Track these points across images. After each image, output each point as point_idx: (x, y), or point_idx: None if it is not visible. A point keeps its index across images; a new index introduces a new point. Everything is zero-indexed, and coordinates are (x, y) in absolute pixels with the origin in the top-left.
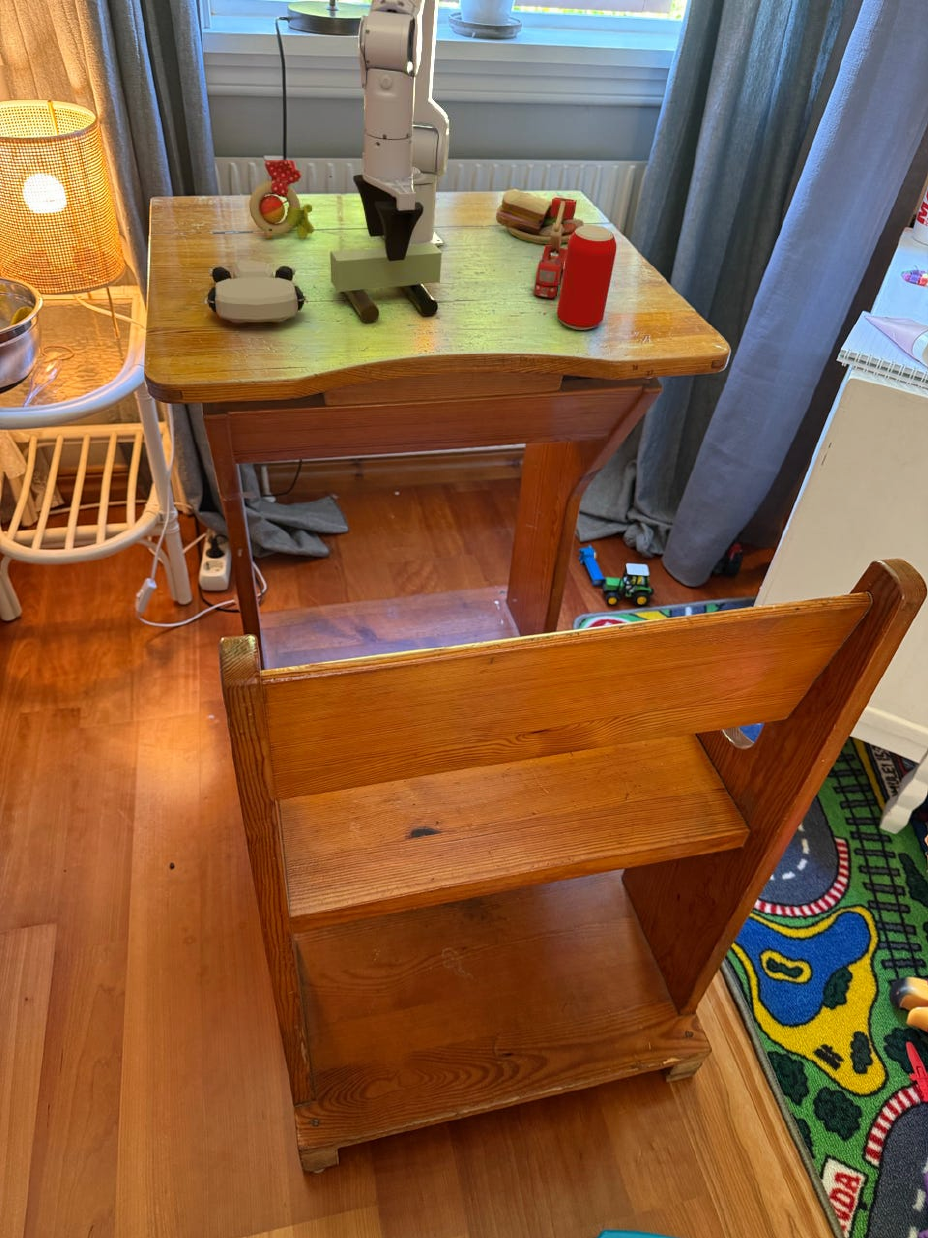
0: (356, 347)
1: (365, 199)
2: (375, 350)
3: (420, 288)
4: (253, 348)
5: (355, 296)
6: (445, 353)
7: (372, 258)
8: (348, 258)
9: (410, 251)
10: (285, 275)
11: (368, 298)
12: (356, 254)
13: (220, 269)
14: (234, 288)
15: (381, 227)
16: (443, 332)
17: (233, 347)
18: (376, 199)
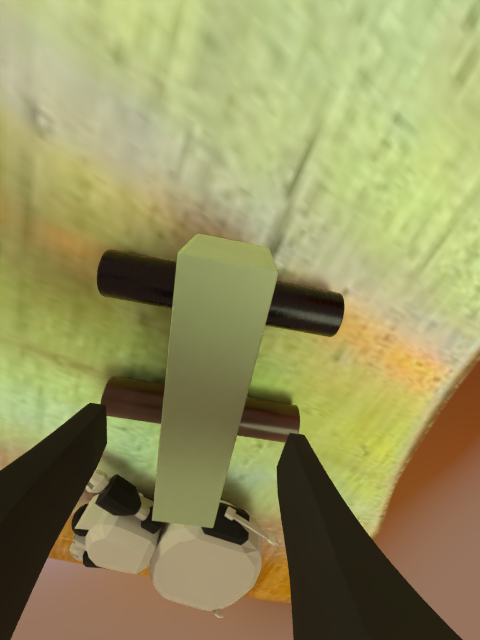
0: (351, 456)
1: (21, 607)
2: (377, 440)
3: (276, 314)
4: (279, 540)
5: (238, 435)
6: (470, 354)
7: (227, 469)
8: (206, 507)
9: (224, 367)
10: (132, 506)
11: (267, 428)
12: (191, 488)
13: (95, 565)
14: (195, 593)
15: (93, 440)
16: (402, 314)
17: (266, 552)
18: (16, 576)
